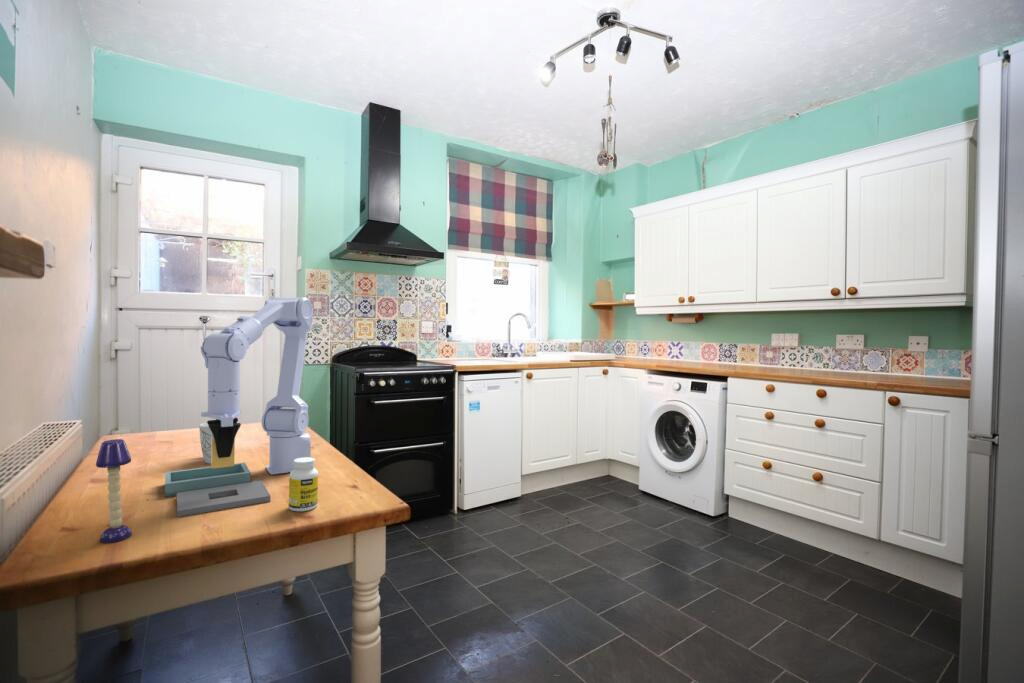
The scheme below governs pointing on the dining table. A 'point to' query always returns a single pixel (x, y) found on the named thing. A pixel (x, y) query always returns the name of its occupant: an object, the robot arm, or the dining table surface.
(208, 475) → the parts tray
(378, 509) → the dining table surface
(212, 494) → the socket block
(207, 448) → the mug
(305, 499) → the supplement bottle
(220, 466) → the block
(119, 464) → the toy lamp
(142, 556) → the dining table surface
